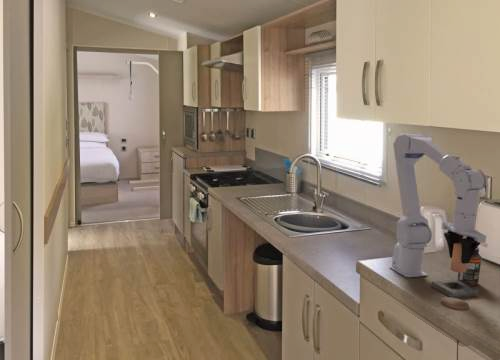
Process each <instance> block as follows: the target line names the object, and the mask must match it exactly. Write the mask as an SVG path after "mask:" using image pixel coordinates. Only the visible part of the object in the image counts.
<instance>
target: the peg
mask: <svg viewBox="0 0 500 360" xmlns="http://www.w3.org/2000/svg"><path fill="white" fill-rule="evenodd" d="M461 257H462V246H461V243H454V245H453V253H452V258H451V262H450V270H451V271H452V272H455V273H457V274H458V273H465V272H466V267H467V263H466V264H463V263H462V261H461Z"/></svg>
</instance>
